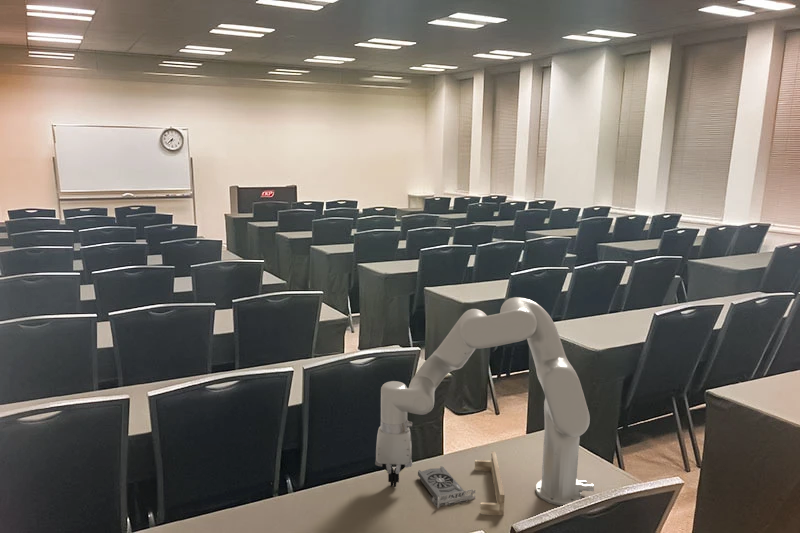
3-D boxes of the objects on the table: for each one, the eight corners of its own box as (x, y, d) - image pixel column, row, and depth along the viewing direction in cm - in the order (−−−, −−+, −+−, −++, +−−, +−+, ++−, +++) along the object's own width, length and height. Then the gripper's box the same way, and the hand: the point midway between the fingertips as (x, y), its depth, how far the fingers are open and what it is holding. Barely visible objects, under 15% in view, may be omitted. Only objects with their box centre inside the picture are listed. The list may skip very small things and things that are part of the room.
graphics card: (477, 490, 158) (438, 498, 153) (476, 503, 158) (437, 511, 154) (451, 462, 173) (414, 468, 169) (450, 473, 174) (414, 479, 170)
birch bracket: (494, 469, 174) (495, 451, 173) (503, 515, 152) (504, 494, 150) (474, 468, 174) (475, 450, 173) (480, 514, 152) (481, 493, 151)
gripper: (420, 420, 164) (419, 478, 168) (369, 418, 165) (369, 476, 169) (419, 432, 157) (418, 492, 160) (366, 430, 158) (366, 490, 161)
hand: (393, 483), depth 164 cm, fingers closed
